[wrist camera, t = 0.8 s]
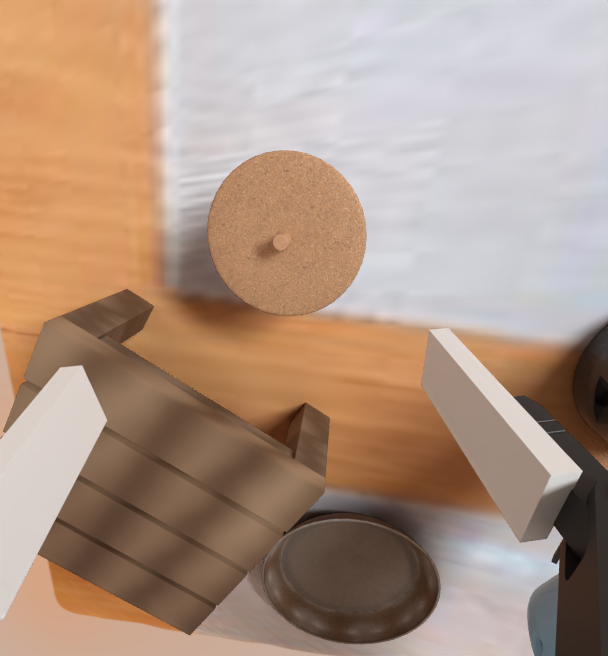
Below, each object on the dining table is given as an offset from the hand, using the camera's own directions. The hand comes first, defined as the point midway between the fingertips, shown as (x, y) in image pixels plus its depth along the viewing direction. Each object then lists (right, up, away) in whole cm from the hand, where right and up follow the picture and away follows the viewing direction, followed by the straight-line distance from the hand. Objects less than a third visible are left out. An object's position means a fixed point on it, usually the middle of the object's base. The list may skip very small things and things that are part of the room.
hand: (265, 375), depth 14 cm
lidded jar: (+1, +10, +17) cm, 20 cm away
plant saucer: (+7, -27, +30) cm, 41 cm away
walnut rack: (-12, -10, +26) cm, 30 cm away
